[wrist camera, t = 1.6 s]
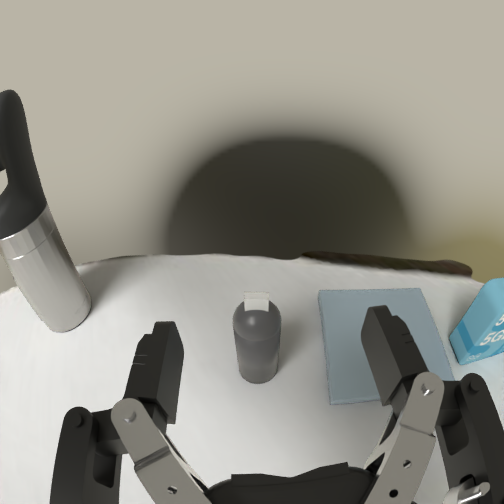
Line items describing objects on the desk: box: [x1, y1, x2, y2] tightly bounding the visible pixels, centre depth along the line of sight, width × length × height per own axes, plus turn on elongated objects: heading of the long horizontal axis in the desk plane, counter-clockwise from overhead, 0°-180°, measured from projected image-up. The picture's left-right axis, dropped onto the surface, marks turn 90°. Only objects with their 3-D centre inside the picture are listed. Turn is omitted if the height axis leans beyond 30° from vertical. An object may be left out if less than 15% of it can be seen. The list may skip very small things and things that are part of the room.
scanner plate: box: [318, 288, 455, 405], centre depth 32 cm, size 16×16×2 cm
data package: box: [450, 278, 504, 365], centre depth 26 cm, size 12×4×12 cm, turn 89°
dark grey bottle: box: [233, 292, 281, 384], centre depth 28 cm, size 4×4×12 cm
